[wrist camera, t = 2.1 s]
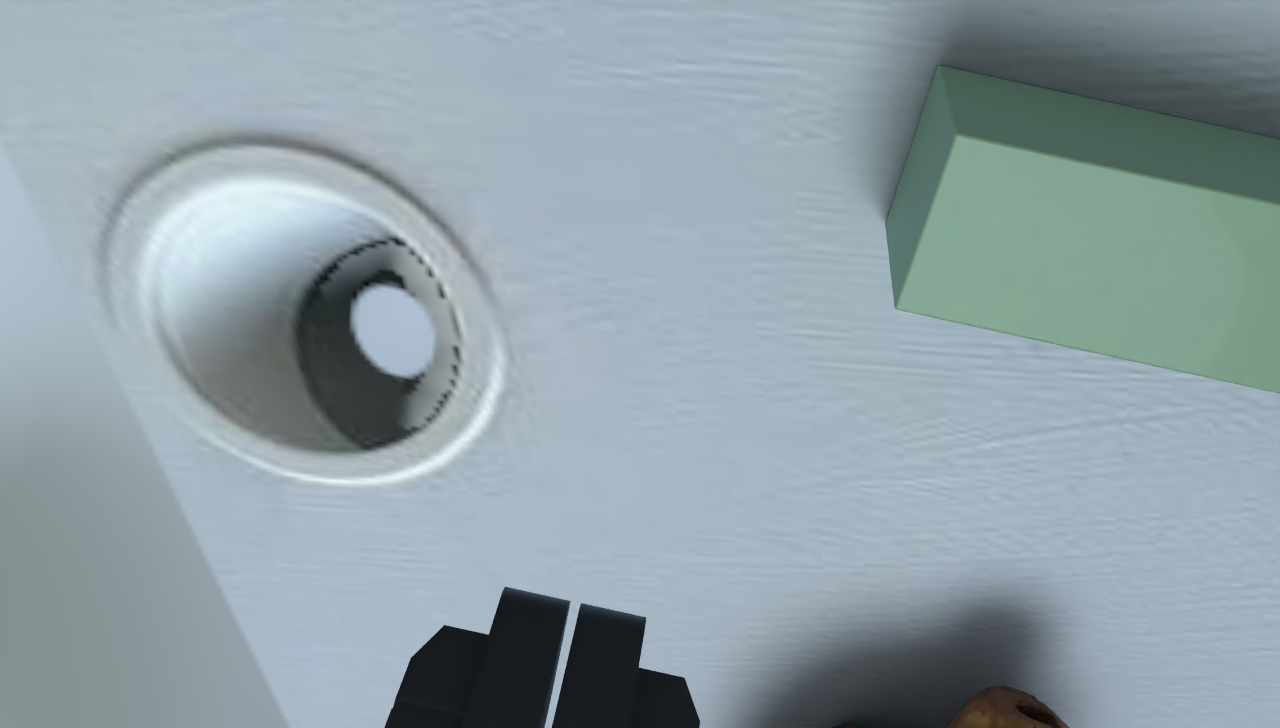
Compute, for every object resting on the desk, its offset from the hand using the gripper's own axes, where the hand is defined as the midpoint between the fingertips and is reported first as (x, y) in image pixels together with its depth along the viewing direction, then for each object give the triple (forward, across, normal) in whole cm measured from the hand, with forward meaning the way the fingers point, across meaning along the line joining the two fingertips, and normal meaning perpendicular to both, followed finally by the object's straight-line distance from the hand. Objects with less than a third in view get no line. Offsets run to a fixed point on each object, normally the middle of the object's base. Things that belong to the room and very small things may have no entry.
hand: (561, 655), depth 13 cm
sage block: (+17, -10, 0) cm, 20 cm away
